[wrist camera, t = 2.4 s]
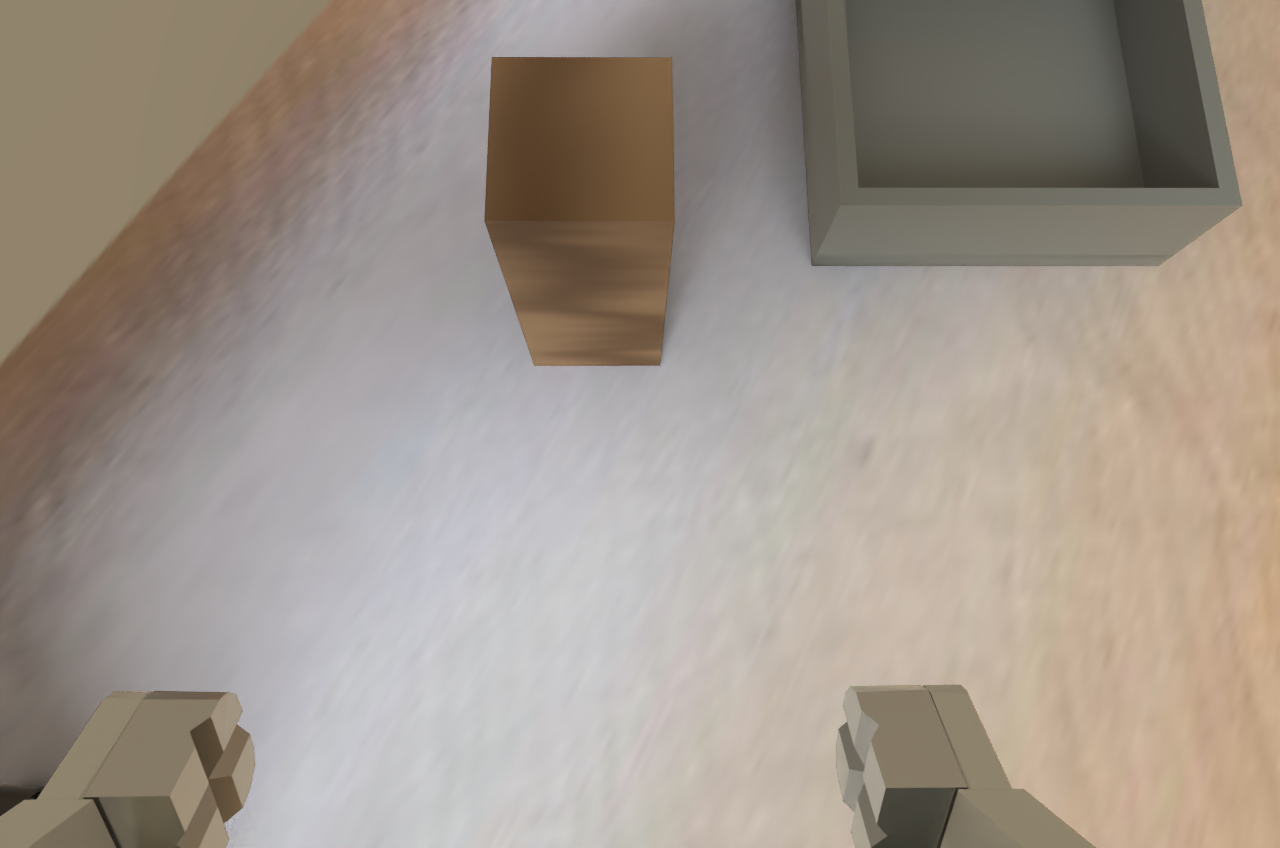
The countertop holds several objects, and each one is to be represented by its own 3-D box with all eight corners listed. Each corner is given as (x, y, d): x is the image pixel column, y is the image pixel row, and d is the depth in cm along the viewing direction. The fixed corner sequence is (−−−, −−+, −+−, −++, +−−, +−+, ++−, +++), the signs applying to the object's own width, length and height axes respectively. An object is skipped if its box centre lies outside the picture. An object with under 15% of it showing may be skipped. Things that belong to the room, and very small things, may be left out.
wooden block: (658, 250, 35) (672, 57, 24) (660, 365, 34) (674, 220, 23) (537, 250, 35) (491, 57, 24) (534, 365, 34) (484, 220, 23)
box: (1109, -26, 39) (1177, -121, 34) (1158, 265, 35) (1242, 205, 31) (794, -27, 39) (817, -123, 34) (811, 265, 35) (840, 205, 30)
